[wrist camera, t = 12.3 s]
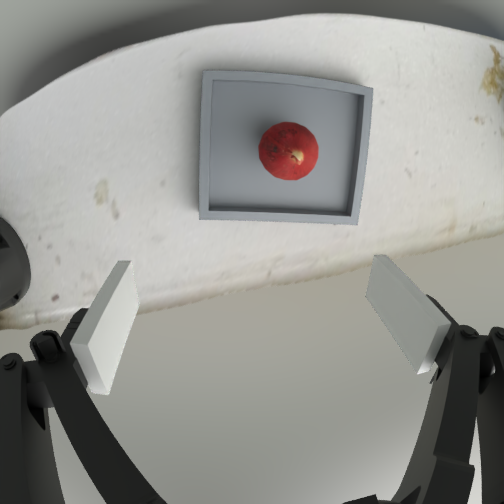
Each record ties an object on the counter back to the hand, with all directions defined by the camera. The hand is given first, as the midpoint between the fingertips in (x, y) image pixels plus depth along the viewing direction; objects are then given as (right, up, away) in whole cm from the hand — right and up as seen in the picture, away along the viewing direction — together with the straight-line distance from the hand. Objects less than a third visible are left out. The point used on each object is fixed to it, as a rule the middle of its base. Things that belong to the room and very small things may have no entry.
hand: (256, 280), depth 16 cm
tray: (+3, +13, +17) cm, 21 cm away
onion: (+3, +13, +16) cm, 21 cm away
